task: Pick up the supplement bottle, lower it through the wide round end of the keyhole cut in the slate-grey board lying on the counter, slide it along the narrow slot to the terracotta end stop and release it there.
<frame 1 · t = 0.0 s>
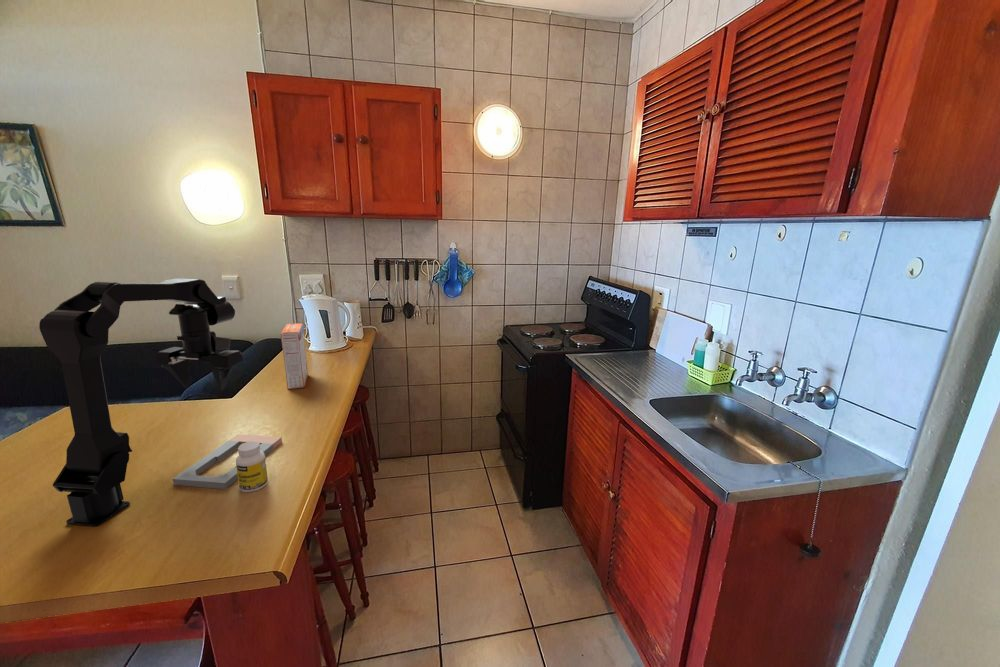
hand: (204, 388, 100), 15 cm above the breakfast bar, fingers open, 9 cm apart
keyhole board: (233, 461, 95), on the breakfast bar
cracker box: (297, 382, 145), on the breakfast bar
supplement bottle: (254, 486, 87), on the breakfast bar
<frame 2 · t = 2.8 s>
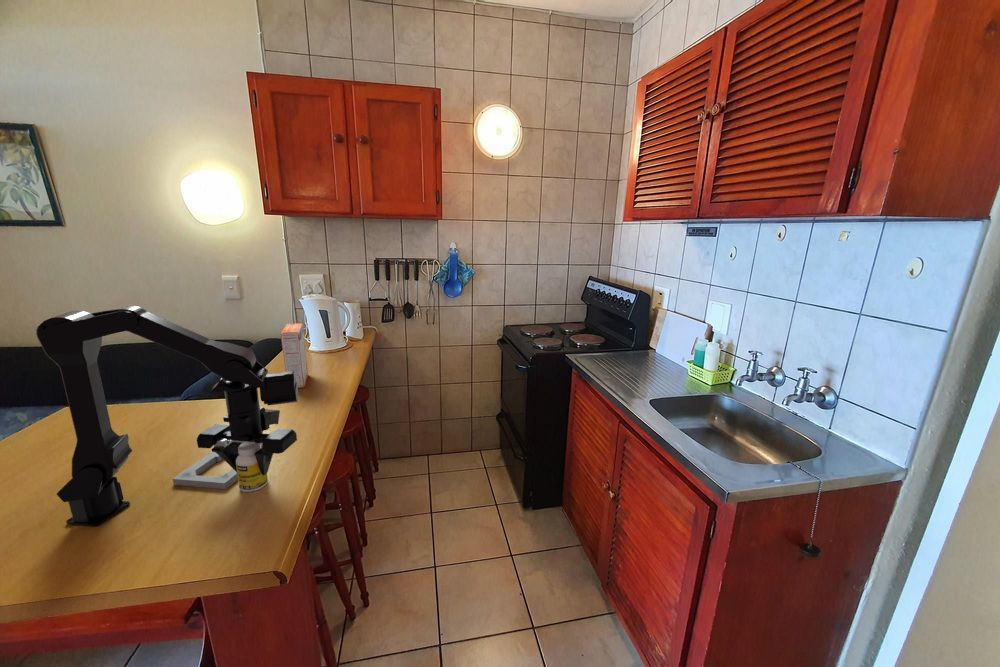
hand: (252, 473, 86), 3 cm above the breakfast bar, fingers closed on supplement bottle, 5 cm apart
supplement bottle: (254, 486, 87), on the breakfast bar, touching gripper
everything else where it was.
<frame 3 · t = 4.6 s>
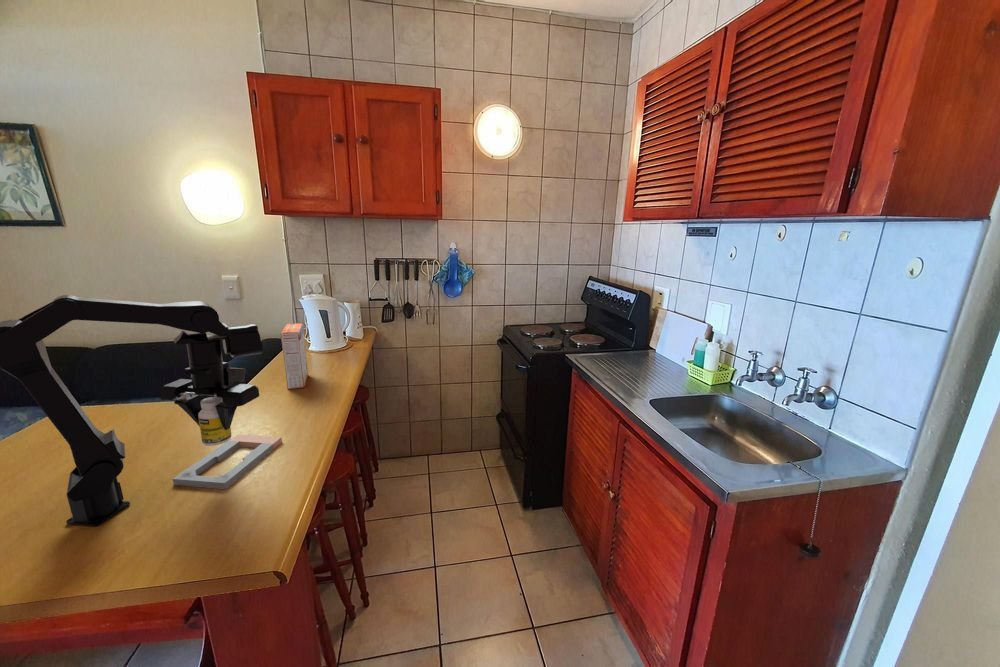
hand: (215, 428, 87), 12 cm above the breakfast bar, fingers closed on supplement bottle, 5 cm apart
supplement bottle: (217, 441, 88), point 8 cm above the breakfast bar, touching gripper
everything else where it was.
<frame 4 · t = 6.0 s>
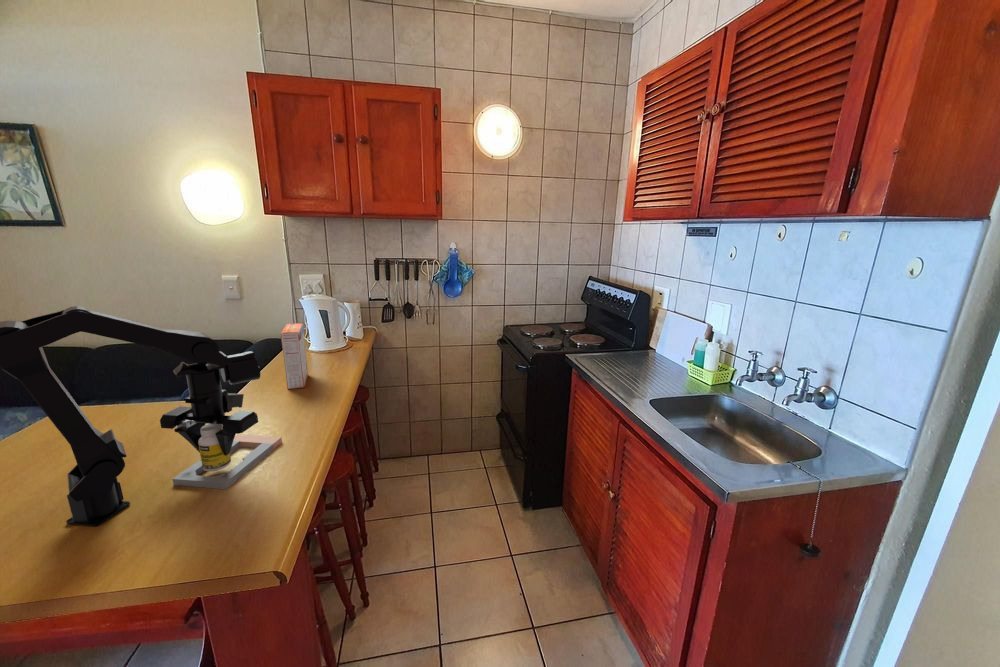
hand: (215, 453, 90), 5 cm above the breakfast bar, fingers closed on supplement bottle, 5 cm apart
supplement bottle: (217, 466, 90), point 2 cm above the breakfast bar, touching gripper
everything else where it was.
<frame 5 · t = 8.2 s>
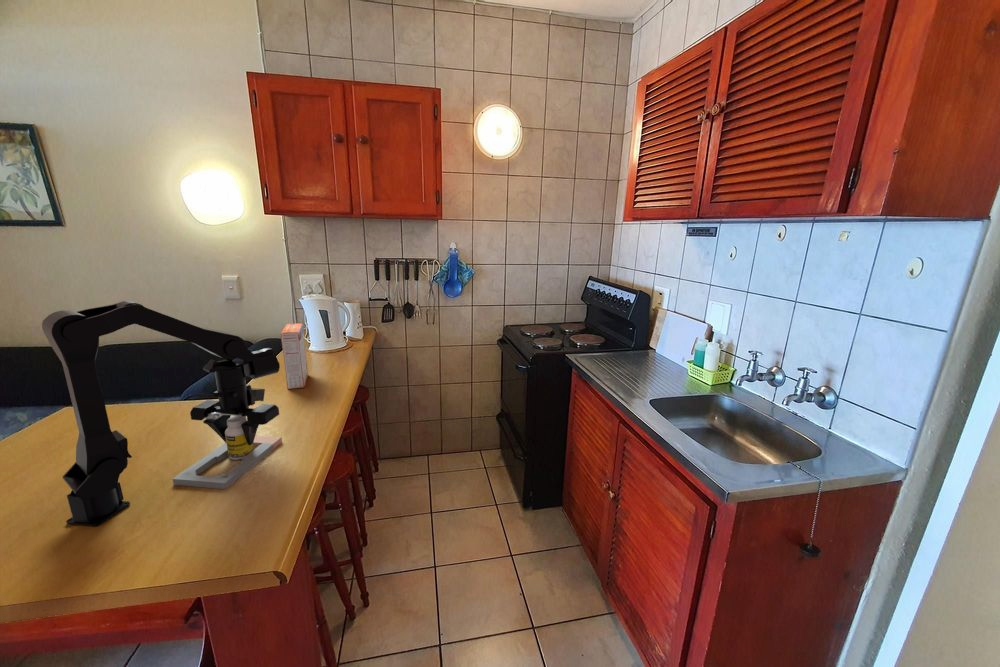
hand: (239, 443, 97), 3 cm above the breakfast bar, fingers closed on supplement bottle, 5 cm apart
supplement bottle: (241, 455, 98), resting in keyhole board, touching gripper
everything else where it was.
when the fingers open (3 cm above the breakfast bar, at t = 9.5 s): supplement bottle stays where it is, resting in keyhole board.
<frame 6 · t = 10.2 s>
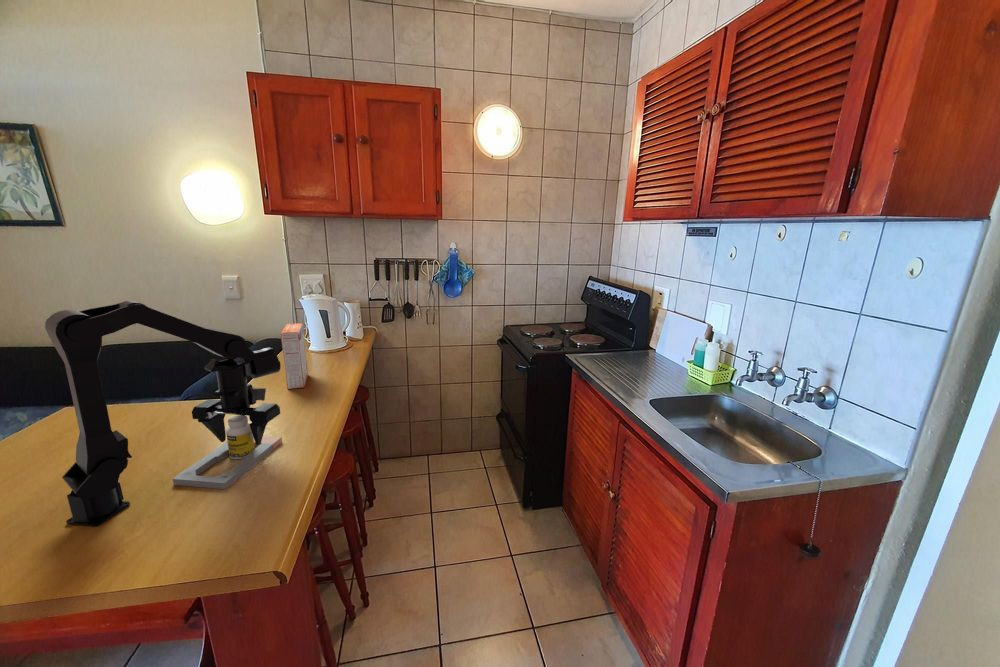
hand: (241, 442, 98), 3 cm above the breakfast bar, fingers open, 9 cm apart
supplement bottle: (242, 454, 98), resting in keyhole board
everything else where it was.
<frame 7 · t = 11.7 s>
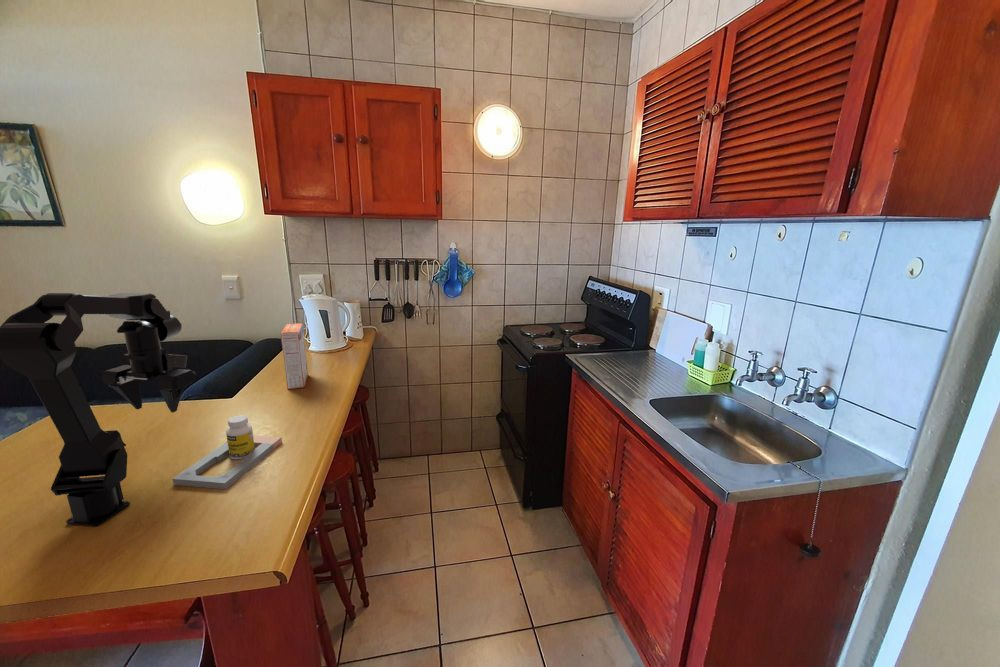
hand: (156, 410, 94), 12 cm above the breakfast bar, fingers open, 9 cm apart
nothing on the breakfast bar moved.
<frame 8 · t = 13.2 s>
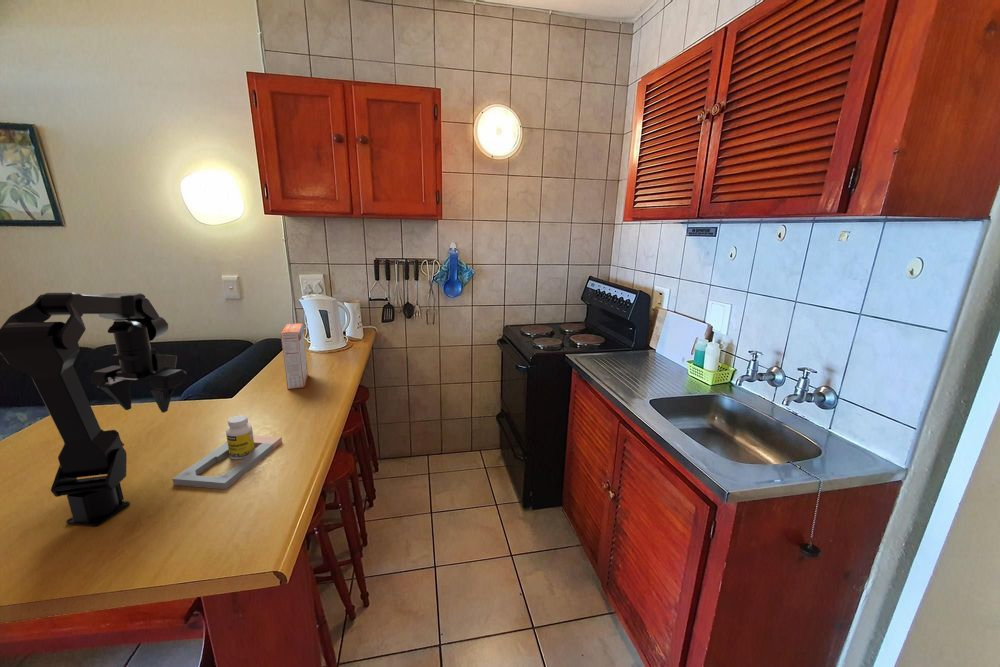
hand: (146, 410, 93), 12 cm above the breakfast bar, fingers open, 9 cm apart
nothing on the breakfast bar moved.
at the end: supplement bottle 0.4 cm from the target spot, resting in keyhole board; supplement bottle tilted 0°; the gripper is holding nothing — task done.
